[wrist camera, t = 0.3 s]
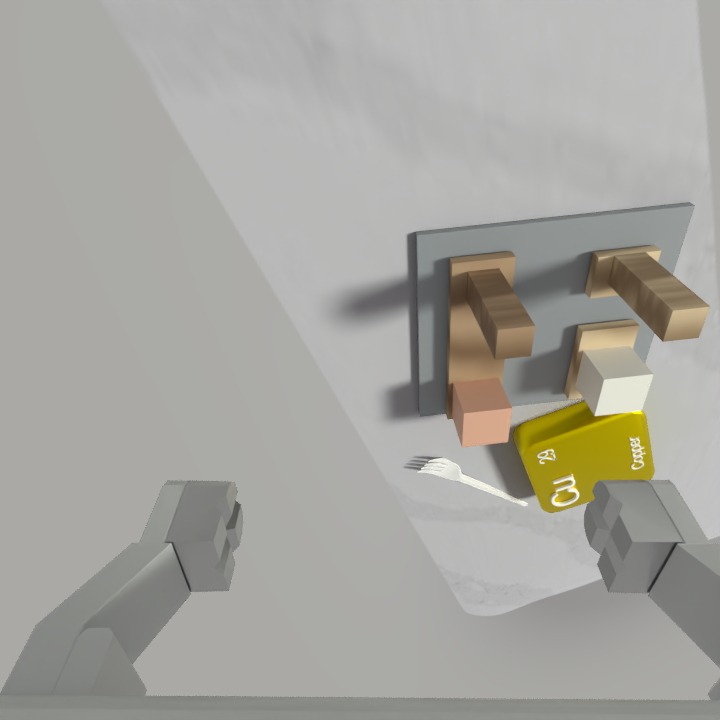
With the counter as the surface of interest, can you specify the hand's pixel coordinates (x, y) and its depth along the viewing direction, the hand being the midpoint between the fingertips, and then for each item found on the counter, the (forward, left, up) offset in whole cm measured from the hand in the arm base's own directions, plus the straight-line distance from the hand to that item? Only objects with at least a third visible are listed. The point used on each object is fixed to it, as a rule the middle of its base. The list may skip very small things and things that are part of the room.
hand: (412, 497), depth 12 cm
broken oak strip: (+23, +26, -37) cm, 51 cm away
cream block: (+27, +26, -36) cm, 52 cm away
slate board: (+22, +19, -38) cm, 48 cm away
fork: (+48, +14, -39) cm, 63 cm away
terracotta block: (+30, +12, -36) cm, 48 cm away
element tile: (+42, +27, -39) cm, 64 cm away
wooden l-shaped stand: (+23, +12, -37) cm, 45 cm away
